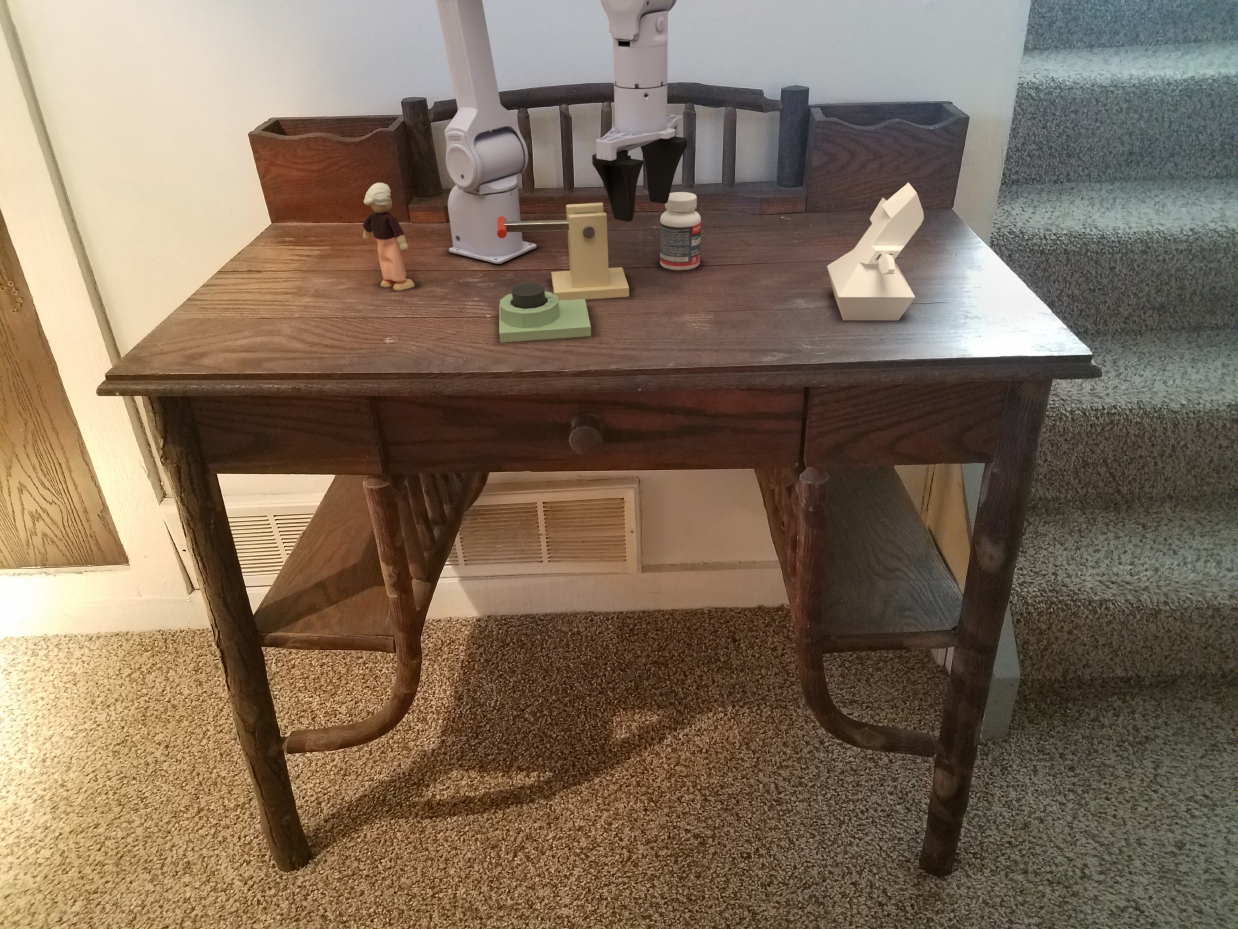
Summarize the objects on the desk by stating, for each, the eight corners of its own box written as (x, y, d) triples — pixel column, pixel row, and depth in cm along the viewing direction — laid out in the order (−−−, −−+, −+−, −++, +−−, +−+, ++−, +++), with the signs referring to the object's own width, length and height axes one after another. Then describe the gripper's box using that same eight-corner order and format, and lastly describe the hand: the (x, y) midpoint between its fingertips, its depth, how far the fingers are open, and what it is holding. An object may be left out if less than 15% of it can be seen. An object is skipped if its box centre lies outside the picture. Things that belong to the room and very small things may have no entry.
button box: (500, 343, 95) (497, 317, 93) (500, 313, 102) (497, 289, 100) (591, 336, 96) (590, 311, 94) (585, 308, 102) (584, 283, 101)
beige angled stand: (838, 334, 95) (853, 208, 87) (821, 285, 106) (834, 171, 99) (917, 334, 94) (939, 207, 86) (892, 285, 106) (909, 170, 98)
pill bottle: (697, 272, 111) (698, 203, 106) (656, 270, 112) (656, 201, 107) (702, 258, 115) (704, 190, 111) (663, 256, 116) (663, 189, 111)
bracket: (554, 301, 104) (549, 221, 99) (551, 280, 110) (546, 203, 105) (629, 296, 105) (627, 216, 100) (622, 276, 111) (620, 198, 105)
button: (513, 311, 95) (512, 296, 94) (513, 299, 98) (511, 284, 97) (546, 309, 96) (545, 294, 95) (544, 296, 99) (543, 282, 98)
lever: (497, 244, 101) (496, 223, 99) (497, 230, 105) (496, 210, 103) (600, 241, 102) (600, 220, 100) (596, 227, 106) (596, 208, 105)
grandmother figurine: (428, 283, 110) (412, 181, 103) (410, 293, 107) (393, 190, 100) (379, 275, 113) (361, 176, 106) (360, 285, 110) (340, 184, 103)
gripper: (635, 99, 86) (636, 234, 93) (706, 76, 96) (702, 199, 103) (577, 93, 89) (583, 223, 97) (652, 71, 99) (652, 191, 107)
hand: (641, 210), depth 100 cm, fingers open, 7 cm apart
